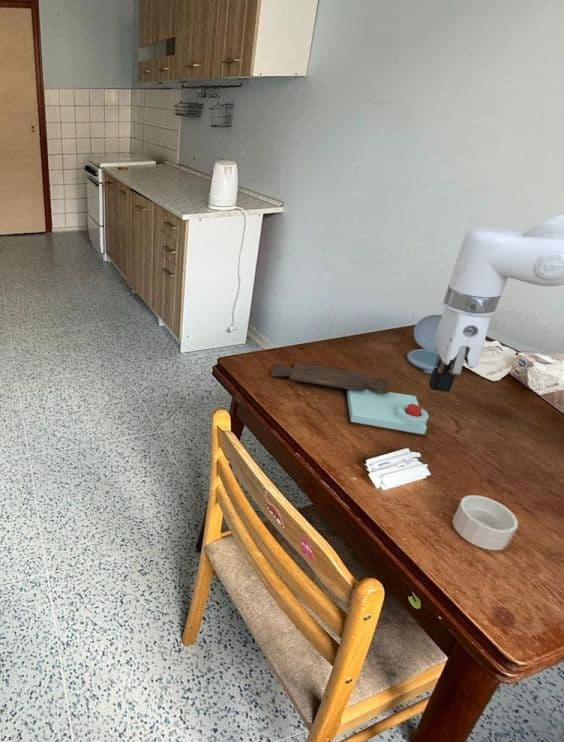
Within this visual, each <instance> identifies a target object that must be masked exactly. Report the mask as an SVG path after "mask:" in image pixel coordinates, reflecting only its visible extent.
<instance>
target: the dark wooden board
mask: <svg viewBox="0 0 564 742" xmlns="http://www.w3.org/2000/svg"><path fill="white" fill-rule="evenodd" d="M270 377H277V378H279V377H281V378H282V377H288V379H289V380H291V381H295V382H296V381H297V382H302V383H308V384H313V385H314V384H315V385H321V386H326V387H328V386H329V387H333V388H337V389H338V388H339V389H345V390H347V389H350V390H357V391H365V388H367V389H370V390H372V391H374V392H377V393H382V394H386V393H388V392H389V390H390V389H389V388H390V387H389V386H390V384H389V380H388V379H385V378H379V377H372V378H370V377H369V378H368V377H367V378H366V372H365V371H358V370H351V369H343V368H336V367H330V366H325V365H324V366H323V365H316V364H311V363H304V362H294V365H293V367H292V366H289V365H286V364H282V363H278V364H277V365H276V366H275V367H274V368H273V369H272V370H271V371H270Z"/></svg>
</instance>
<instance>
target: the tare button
mask: <svg viewBox="0 0 564 742" xmlns="http://www.w3.org/2000/svg"><path fill="white" fill-rule="evenodd" d="M422 409H423V407H422V406H420V405H419V406H418V405H415V404H409V405H408V406H407V409H406V413H407V414H409V415H411V416H415V417H419V416H420V414H421V411H422Z"/></svg>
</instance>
